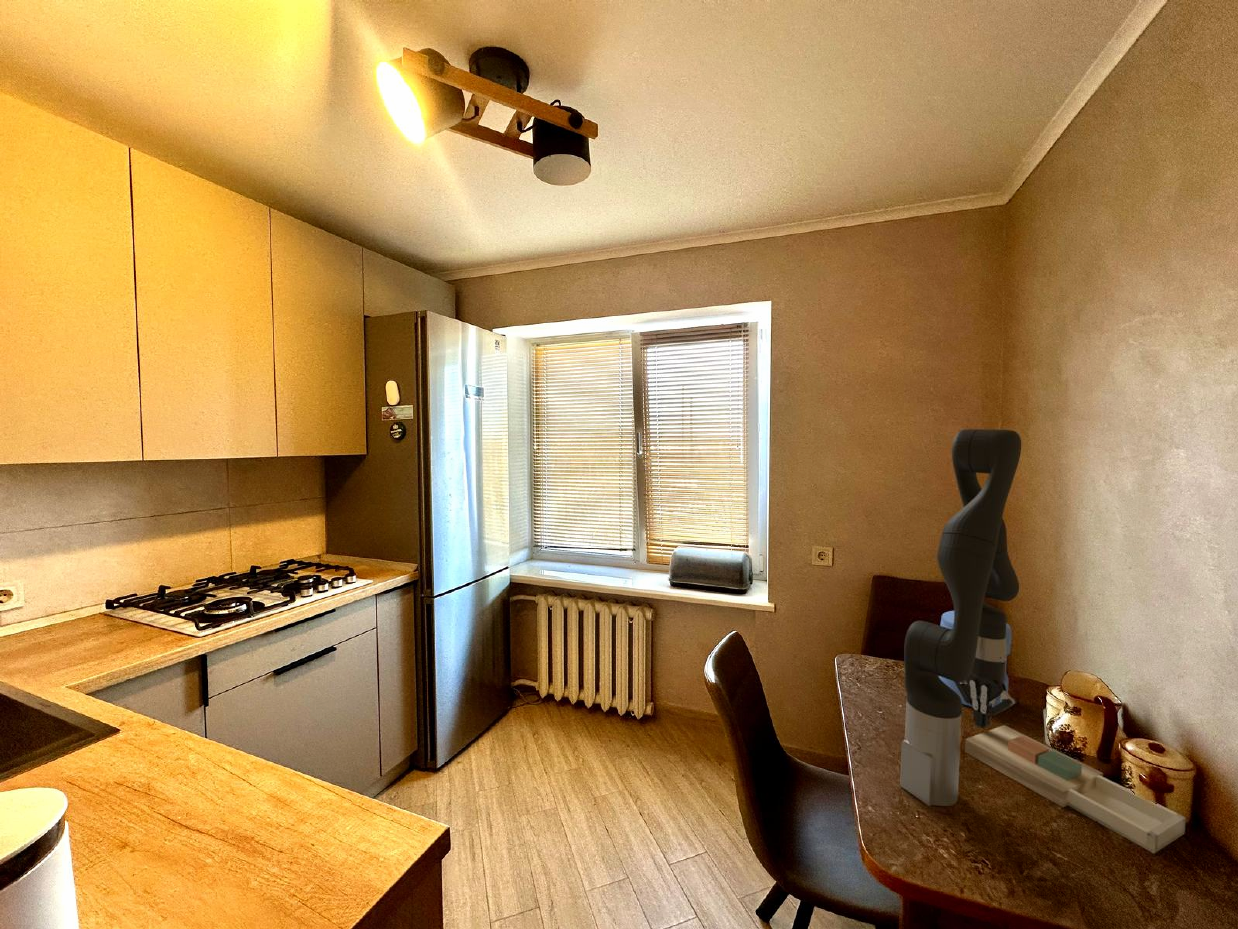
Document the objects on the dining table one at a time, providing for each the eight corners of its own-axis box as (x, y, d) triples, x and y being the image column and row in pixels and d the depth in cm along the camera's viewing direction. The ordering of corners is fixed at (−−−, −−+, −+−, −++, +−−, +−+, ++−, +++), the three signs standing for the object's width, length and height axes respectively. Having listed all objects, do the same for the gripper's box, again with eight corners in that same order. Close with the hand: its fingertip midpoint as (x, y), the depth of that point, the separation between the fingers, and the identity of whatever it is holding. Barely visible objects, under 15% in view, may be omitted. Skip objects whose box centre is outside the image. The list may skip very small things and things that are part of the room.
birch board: (1062, 807, 94) (1063, 792, 94) (964, 752, 111) (965, 739, 111) (1102, 787, 100) (1103, 773, 100) (1003, 737, 116) (1003, 725, 116)
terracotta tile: (1034, 764, 102) (1035, 754, 102) (1007, 749, 107) (1008, 740, 107) (1048, 758, 104) (1049, 748, 104) (1021, 744, 109) (1022, 735, 109)
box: (1154, 853, 84) (1155, 836, 84) (1067, 805, 95) (1068, 790, 95) (1184, 833, 88) (1185, 817, 88) (1098, 789, 99) (1099, 775, 99)
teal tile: (1067, 781, 97) (1068, 771, 97) (1037, 765, 102) (1038, 756, 102) (1081, 774, 99) (1082, 764, 99) (1051, 759, 104) (1052, 750, 104)
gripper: (945, 644, 118) (942, 715, 119) (1007, 668, 106) (1003, 747, 107) (965, 639, 121) (962, 708, 122) (1028, 662, 109) (1024, 739, 110)
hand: (981, 726), depth 114 cm, fingers closed
